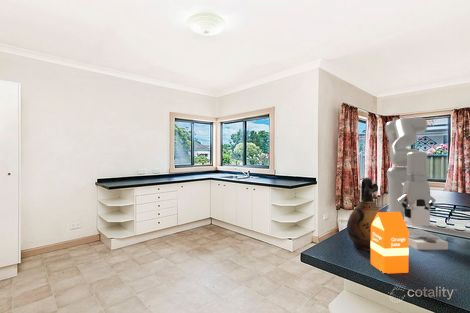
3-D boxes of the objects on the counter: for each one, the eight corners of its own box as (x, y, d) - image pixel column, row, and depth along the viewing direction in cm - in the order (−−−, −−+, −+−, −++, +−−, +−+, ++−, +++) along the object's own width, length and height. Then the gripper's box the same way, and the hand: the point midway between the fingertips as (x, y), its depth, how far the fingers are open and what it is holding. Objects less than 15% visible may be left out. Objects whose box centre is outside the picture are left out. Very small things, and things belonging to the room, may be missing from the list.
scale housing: (393, 236, 120) (393, 229, 120) (420, 236, 120) (420, 229, 120) (418, 250, 103) (418, 241, 103) (449, 250, 103) (449, 241, 103)
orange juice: (370, 263, 92) (370, 209, 91) (392, 262, 92) (393, 209, 92) (384, 273, 84) (384, 215, 84) (409, 272, 84) (409, 214, 84)
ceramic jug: (393, 255, 98) (394, 180, 98) (352, 253, 101) (352, 180, 101) (378, 240, 115) (378, 176, 114) (342, 238, 118) (342, 175, 117)
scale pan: (396, 230, 119) (396, 228, 119) (419, 230, 119) (419, 228, 119) (412, 238, 108) (412, 236, 108) (438, 238, 108) (438, 236, 108)
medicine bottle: (419, 222, 117) (419, 196, 116) (430, 226, 109) (430, 199, 109) (403, 221, 117) (403, 196, 117) (413, 226, 110) (413, 199, 110)
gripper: (429, 177, 117) (429, 215, 117) (392, 177, 117) (392, 215, 117) (442, 179, 109) (442, 219, 109) (402, 179, 109) (402, 219, 110)
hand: (416, 216), depth 113 cm, fingers closed on medicine bottle, 7 cm apart
